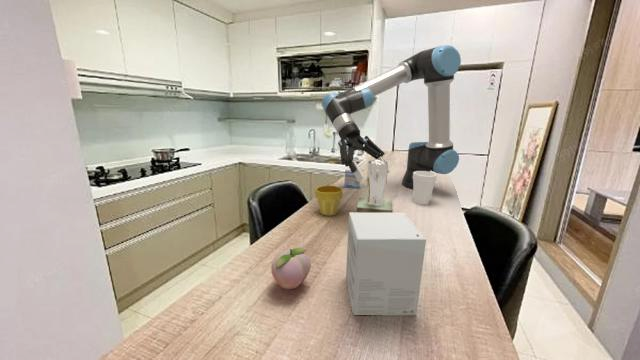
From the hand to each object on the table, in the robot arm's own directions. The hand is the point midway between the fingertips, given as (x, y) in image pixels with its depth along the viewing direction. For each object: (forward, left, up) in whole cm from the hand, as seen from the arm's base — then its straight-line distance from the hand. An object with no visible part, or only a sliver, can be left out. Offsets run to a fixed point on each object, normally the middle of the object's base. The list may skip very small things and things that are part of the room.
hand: (375, 176), depth 93 cm
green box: (-1, 0, -17) cm, 17 cm away
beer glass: (-1, 0, -10) cm, 10 cm away
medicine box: (+11, -41, -17) cm, 46 cm away
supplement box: (-3, +39, -17) cm, 43 cm away
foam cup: (-21, -26, -17) cm, 37 cm away
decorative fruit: (+17, +41, -17) cm, 48 cm away
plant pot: (+17, -5, -17) cm, 25 cm away
